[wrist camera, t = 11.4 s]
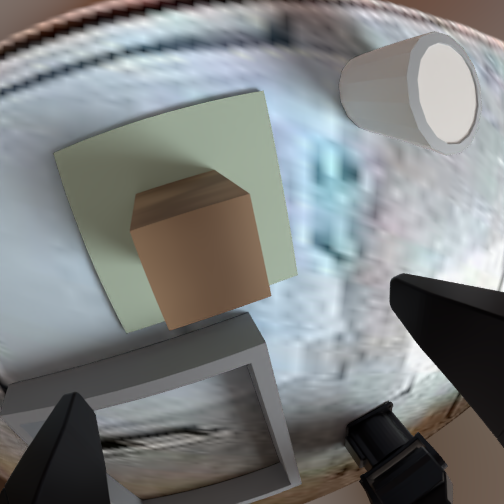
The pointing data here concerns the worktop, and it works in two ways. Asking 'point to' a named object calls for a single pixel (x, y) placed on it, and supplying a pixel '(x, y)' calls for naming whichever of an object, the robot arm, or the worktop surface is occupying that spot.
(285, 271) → the mat
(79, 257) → the worktop surface
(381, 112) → the shot glass
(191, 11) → the worktop surface
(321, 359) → the worktop surface
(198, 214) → the walnut block
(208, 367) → the grey rimmed tray
